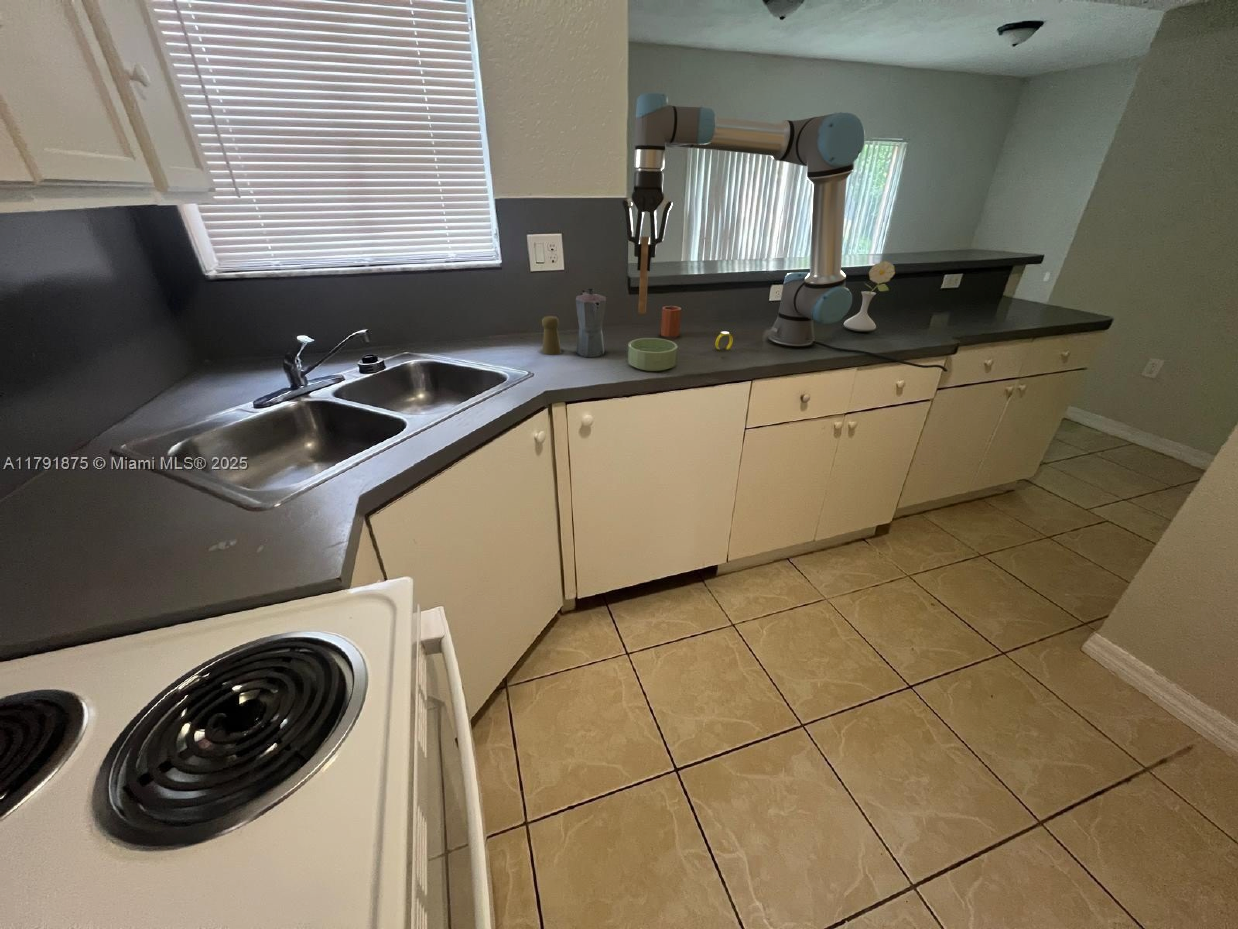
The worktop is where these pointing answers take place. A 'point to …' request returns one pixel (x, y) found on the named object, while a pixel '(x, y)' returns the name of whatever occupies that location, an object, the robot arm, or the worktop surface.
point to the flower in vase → (870, 297)
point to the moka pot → (590, 324)
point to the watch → (724, 335)
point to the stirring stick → (643, 275)
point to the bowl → (652, 354)
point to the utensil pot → (670, 321)
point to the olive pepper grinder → (551, 336)
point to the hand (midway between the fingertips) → (644, 269)
